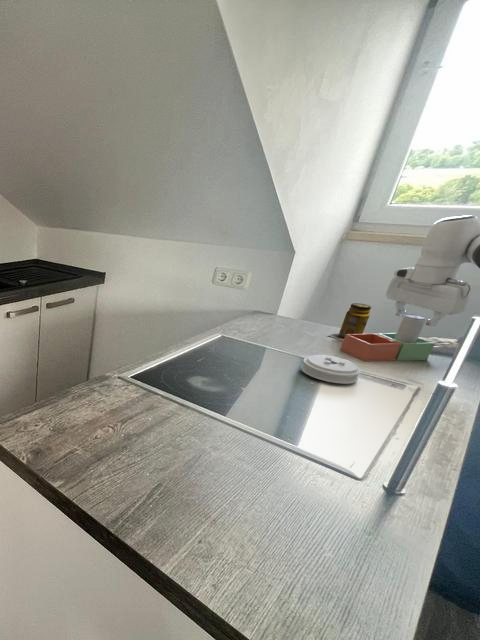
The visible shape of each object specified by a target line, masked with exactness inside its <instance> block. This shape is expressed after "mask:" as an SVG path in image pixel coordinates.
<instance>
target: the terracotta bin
mask: <svg viewBox="0 0 480 640" xmlns="http://www.w3.org/2000/svg"><path fill="white" fill-rule="evenodd" d="M400 346H401V344H400V343H398V342H395V341H393V340H390V339H388V338H385V337H382V336H380V335H377V333H373V332H372V333H363V334H346V335H345V338H344V341H342V344H341V346H340V349H339V350H340V351H342V352H343V353H345V354H348V355H351V356H352V357H354V358H356V359H358V360H360V361H363V362H394V361H396V360H395V357H396V355H397V353H398V351H399V348H400Z"/></svg>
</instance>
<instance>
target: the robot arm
mask: <svg viewBox="0 0 480 640" xmlns="http://www.w3.org/2000/svg"><path fill="white" fill-rule="evenodd" d="M465 263H468V264H472V265H474V266H477V268H478V269H480V219H479V218H478V217H477V216H476V215H469V214H467V215H466V214H465V215H453V216H448V217H444V218H441V219H439V220H437V221H436V222H434V223H433V224H432V225H431V227H430V229H429V230H428V232H427V234H426V236H425V238H424V241H423V243H422V246H421V248H420V257H419V258H417V260H416V261H415V264H414V266H412V267H406V268H405V267H404V268H397V269H395V270H394V273H393V276H394V277H393V278H392V279H391V280H390V282H389V284H388V286H387V289H386V292H385V296H386V298H387V299H388V300H392V301H395V309H396V312H395V315H394V316H396V317H400V318H403V317H404V316H405V315H406V314H408V311H406V308H405V307H406V306H407V305H411V306H414V307H418V308H422V309H425V310H429V311H433V317H431V318H426V321H425V325H426V326H427V327H436V326H437V325H438V322H439V321H440V320H442V319H443V318H445V317H446V316H447V315H448V316H459V315H461V314H463V313H465V311H466V309H467V306H468V303H469V299H470V298H469V297H470V293H471V291H472V287H471V285H470V284H469V283H468V281H465V280H459V279H456V277H457V275H458V272H459V270H460V268H461V265H462V264H465Z"/></svg>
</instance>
